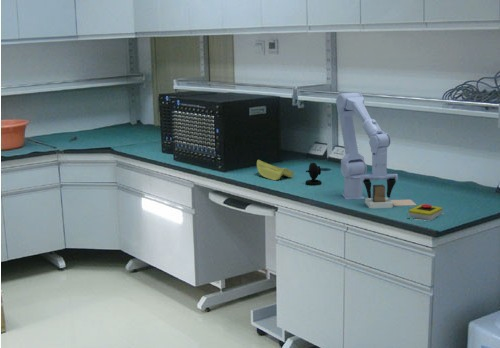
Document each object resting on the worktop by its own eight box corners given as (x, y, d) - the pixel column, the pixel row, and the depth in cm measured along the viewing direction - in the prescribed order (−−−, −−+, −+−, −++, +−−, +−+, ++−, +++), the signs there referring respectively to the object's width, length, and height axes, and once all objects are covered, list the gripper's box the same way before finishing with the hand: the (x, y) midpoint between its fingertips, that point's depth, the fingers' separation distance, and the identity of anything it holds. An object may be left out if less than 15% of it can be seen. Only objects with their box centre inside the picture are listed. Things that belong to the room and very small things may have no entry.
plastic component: (296, 172, 330) (282, 166, 324) (290, 187, 330) (277, 181, 323) (269, 164, 345) (255, 158, 338) (263, 178, 345) (250, 172, 338)
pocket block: (365, 204, 277) (365, 198, 277) (387, 203, 277) (387, 197, 277) (369, 209, 268) (370, 203, 268) (392, 209, 269) (392, 202, 268)
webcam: (324, 184, 313) (324, 163, 311) (308, 186, 311) (308, 164, 309) (317, 181, 321) (317, 160, 319) (302, 182, 319) (302, 161, 317)
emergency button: (445, 203, 260) (428, 212, 248) (444, 215, 261) (427, 223, 249) (422, 200, 265) (404, 208, 254) (422, 211, 266) (404, 219, 255)
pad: (388, 201, 280) (388, 200, 280) (410, 200, 281) (410, 199, 281) (394, 207, 272) (394, 205, 272) (416, 206, 272) (416, 204, 272)
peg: (372, 204, 275) (372, 184, 273) (382, 203, 275) (382, 184, 273) (374, 206, 271) (375, 187, 269) (384, 206, 271) (385, 186, 269)
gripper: (363, 166, 265) (362, 200, 268) (400, 165, 266) (399, 199, 268) (359, 163, 272) (359, 196, 275) (395, 161, 273) (394, 195, 275)
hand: (378, 197), depth 272 cm, fingers open, 7 cm apart
